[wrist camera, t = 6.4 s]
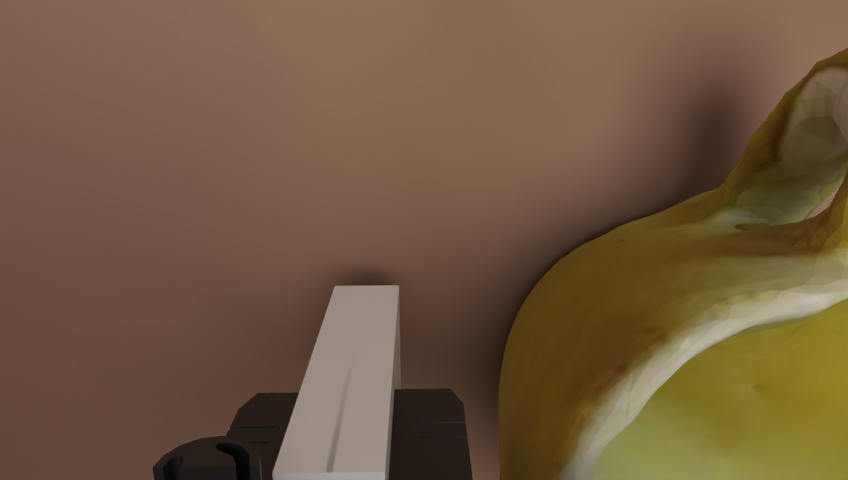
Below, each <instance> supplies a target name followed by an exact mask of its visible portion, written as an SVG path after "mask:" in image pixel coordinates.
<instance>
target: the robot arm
mask: <svg viewBox="0 0 848 480" xmlns="http://www.w3.org/2000/svg"><path fill="white" fill-rule="evenodd" d="M153 473H154V480H473V479H472V471H471V463H470V455H469V447H468V440H467V431H466V425H465V415H464V407H463V403H462V402H461V401H460V400H459V399H458V397H457V396H456V395H455V394H454V393H453V392H452V391H451V389H401V354H400V309H399V285H382V286H335V287H334V290H333V293H332V296H331V299H330V302H329V305H328V308H327V311H326V314H325V317H324V320H323V323H322V326H321V329H320V332H319V335H318V338H317V341H316V344H315V347H314V350H313V353H312V356H311V359H310V362H309V365H308V368H307V371H306V374H305V377H304V380H303V383H302V386H301V389H300V392H299V393H258V394H256V395H255V396H254V397H253V398H251V399H250V400H249V401H248V402H247V403H245V404H244V405H243V406H242V407H241V408H239V410H238V412H237V414H236V416H235V418H234V420H233V422H232V424H231V426H230V430H228V433H227V435H226V437H225V436H218V437H209V438H201V439H198V440H195V441H192V442H189V443H186V444H183V445H181V446H179V447H177V448H175V449H174V450H172V451H170V452H169V453H167V454H165V455H164V456H163V457H162V458H161V459H160V460H159V461H158V462H157V463H156V464H155V466H154V467H153Z"/></svg>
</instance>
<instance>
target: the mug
mask: <svg viewBox="0 0 848 480" xmlns="http://www.w3.org/2000/svg"><path fill="white" fill-rule="evenodd" d="M839 187H840V188H839ZM838 188H839V190H838V192H837V193H836V195H835V197H834V199H833V201H832V202H831V204H830V206H829V207H828V208H827V209H825V210H824V211H823V212H821V213H820V214H818V215H817V216H816V217H813V218H809V219H807V218H808V217H809V215H810V214H811V213H812V212H813V211H814V210H815V209H816V208H817V207H818V206H819V205H820V204H821V203H822V202H823V201H824V200H825V199H826V198H828V197H829V196H830V195H831V194H832V193H833V192H835V191H836V190H837V189H838ZM498 410H499V453H500V480H848V48H846V49H845V50H843V51H841V52H839V53H837V54H835V55H833V56H831V57H830V58H827V59H824V60H821V61H819V62H817V63H816V64H815V65H814V66H813V68H812V69H811V70H810V72H809V73H808V74H807V76H805V77H804V78H803V79H802V80H801V81H800V82H799V83H798V84H796V85H795V86H794V87H793V88H792V89H790V90H789V91H788V92H786V93H785V94H784V96H783V98H782V99H781V101H780V102H779V103H778V105H777V106H776V107H775V109H774V110H773V111H772V113H771V114H770V115H769V116H768V118H767V119H766V120H765V121H764V123H763V124H762V125H761V126H760V128H759V129H758V130H757V131H756V132H755V133H754V134H753V135H752V136H751V138H750V140H749V142H748V144H747V147H746V149H745V151H744V155H743V157H742V158H741V159H740V161H739V162H738V163H737V164H736V166H735V167H734V168H733V169H732V171H731V172H730V174H729V175H728V177H727V179H726V181H725V182H724V183H723V184H722V185H721V186H720V187H718V188H717V189H715V190H712V191H708V192H704V193H701V194H699V195H697V196H694V197H692V198H689V199H687V200H685V201H683V202H681V203H679V204H677V205H675V206H672V207H670V208H668V209H666V210H664V211H662V212H659V213H656V214H653V215H650V216H647V217H644V218H641V219H638V220H635V221H633V222H630V223H627V224H624V225H621V226H619V227H617V228H615V229H614V230H612V231H610V232H609V233H606V234H604V235H602V236H600V237H598V238H596V239H594V240H592V241H589V242H587V243H585V244H583V245H581V246H580V247H578V248H577V249H575V250H574V251H572V252H571V253H569V254H568V255H566V256H565V257H563V258H562V259H560V260H559V261H558V262H557V263H556V264H555V265H554V266H553V267H552V268H551V269H550V270H549V271H548V272H547V273H546V274H545V275H544V276H543V277H542V278H541V279H540V280H539V282H538V283H537V284H536V286H535V287H534V288H533V289H532V291H531V292H530V293H529V295H528V296H527V298H526V300H525V301H524V303H523V305H522V306H521V308H520V310H519V312H518V314H517V316H516V319H515V321H514V324H513V326H512V329H511V331H510V334H509V336H508V340H507V343H506V347H505V352H504V356H503V362H502V369H501V375H500V381H499V388H498Z"/></svg>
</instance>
